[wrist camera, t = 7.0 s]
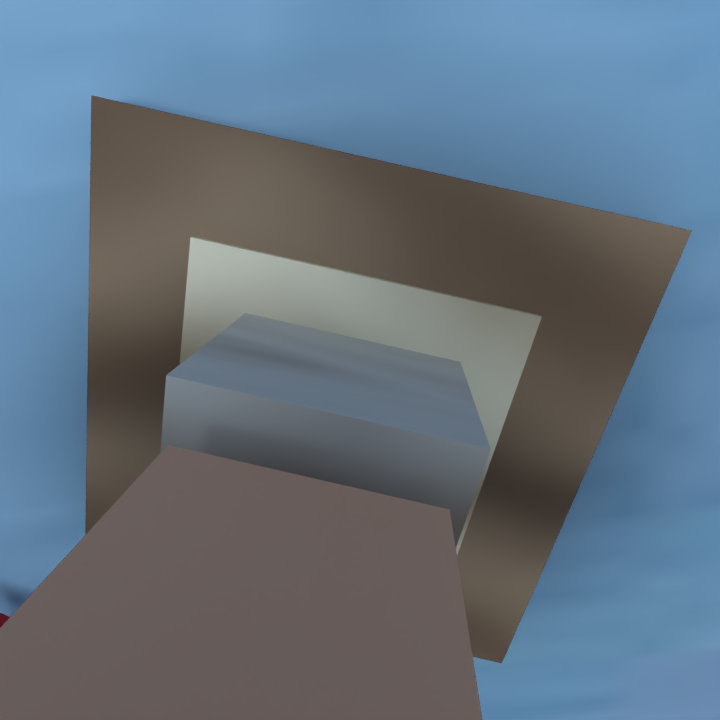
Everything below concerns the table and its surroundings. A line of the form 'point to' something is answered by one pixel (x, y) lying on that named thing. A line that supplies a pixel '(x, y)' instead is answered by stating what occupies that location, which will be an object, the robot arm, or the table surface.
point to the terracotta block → (246, 606)
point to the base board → (360, 332)
